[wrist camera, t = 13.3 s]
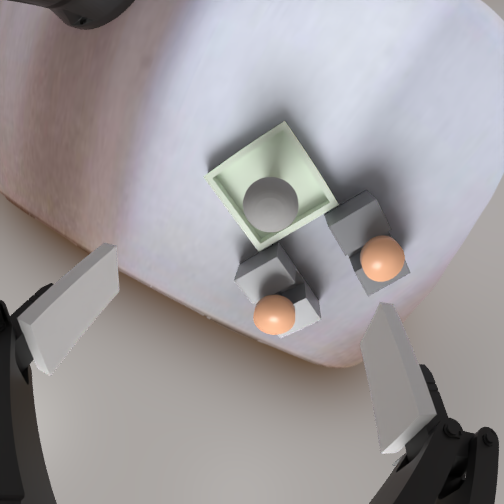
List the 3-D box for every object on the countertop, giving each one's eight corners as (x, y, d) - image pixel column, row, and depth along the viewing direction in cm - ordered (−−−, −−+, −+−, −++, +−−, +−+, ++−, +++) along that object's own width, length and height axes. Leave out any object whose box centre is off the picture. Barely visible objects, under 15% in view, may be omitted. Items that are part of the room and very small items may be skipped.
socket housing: (239, 264, 41) (233, 280, 37) (366, 190, 34) (376, 199, 30) (281, 319, 44) (280, 338, 40) (399, 257, 38) (410, 272, 34)
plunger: (250, 288, 40) (245, 313, 35) (282, 271, 38) (280, 295, 33) (271, 314, 41) (268, 340, 36) (301, 299, 39) (302, 324, 35)
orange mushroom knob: (346, 235, 35) (355, 255, 30) (380, 216, 33) (394, 232, 28) (363, 266, 36) (373, 289, 31) (396, 248, 35) (410, 268, 30)
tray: (208, 173, 36) (203, 176, 34) (285, 121, 32) (284, 120, 30) (260, 244, 39) (258, 251, 37) (336, 199, 36) (338, 204, 34)
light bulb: (289, 213, 37) (291, 246, 28) (246, 203, 37) (234, 234, 28) (299, 171, 34) (306, 191, 25) (255, 161, 34) (245, 177, 25)
